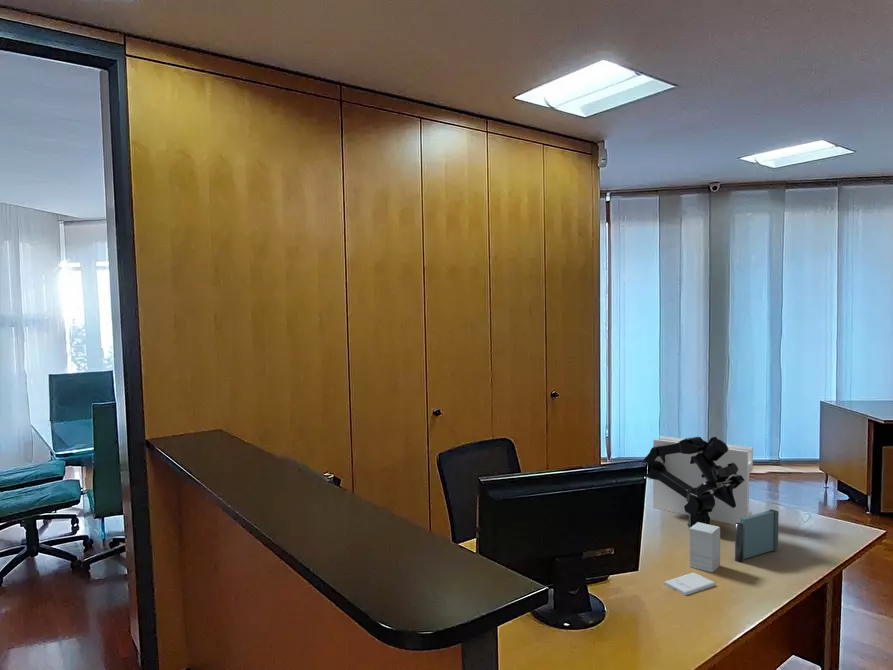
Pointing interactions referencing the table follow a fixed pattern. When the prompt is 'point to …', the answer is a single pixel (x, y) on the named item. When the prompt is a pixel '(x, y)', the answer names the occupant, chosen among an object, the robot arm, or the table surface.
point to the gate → (760, 533)
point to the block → (692, 476)
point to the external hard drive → (689, 583)
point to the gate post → (739, 542)
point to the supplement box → (704, 546)
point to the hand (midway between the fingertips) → (734, 507)
